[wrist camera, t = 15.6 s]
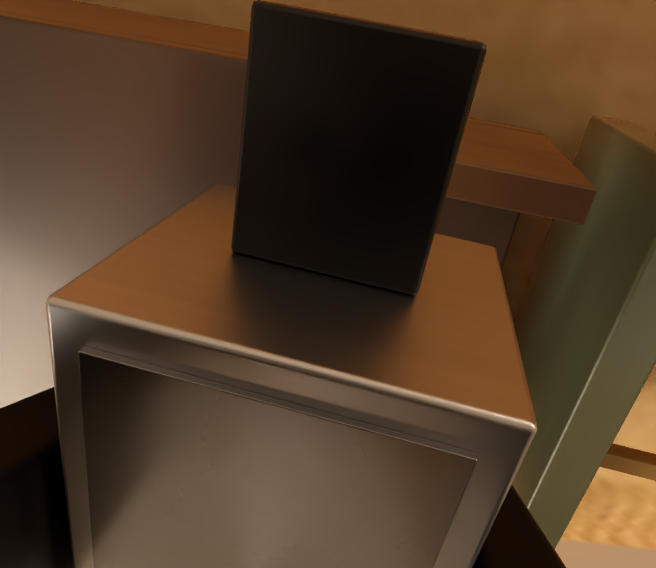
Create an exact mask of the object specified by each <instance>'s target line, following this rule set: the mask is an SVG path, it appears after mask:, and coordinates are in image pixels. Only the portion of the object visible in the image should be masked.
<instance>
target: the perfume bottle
mask: <svg viewBox="0 0 656 568" xmlns="http://www.w3.org/2000/svg"><path fill="white" fill-rule="evenodd" d="M485 55H486V45H485V44H483V43H482V42H479V41H476V40H471V39H466V38H461V37H455V36H450V35H445V34H439V33H434V32H429V31H423V30H418V29H413V28H408V27H402V26H397V25H392V24H386V23H381V22H376V21H370V20H365V19H360V18H355V17H349V16H344V15H339V14H333V13H328V12H323V11H317V10H312V9H307V8H302V7H296V6H290V5H284V4H278V3H272V2H266V1H260V0H258V1H254V3H253V5H252V10H251V22H250V33H249V45H248V57H247V68H246V80H245V92H244V103H243V115H242V127H241V139H240V150H239V162H238V174H237V185H236V188H235V187H231V186H227V185H222V184H216V185H214V186H213V187H211V188H210V189H208V190H207V191H205V192H204V193H202V194H201V195H199V196H198V197H196V198H195V199H193V200H192V201H190V202H189V203H187V204H186V205H184V206H183V207H181V208H180V209H178V210H177V211H175V212H174V213H172V214H171V215H169V216H168V217H166V218H165V219H163V220H162V221H160V222H159V223H157V224H156V225H154V226H153V227H152V228H150V229H149V230H147V231H146V232H144V233H143V234H141V235H140V236H138V237H137V238H135V239H134V240H132V241H131V242H129V243H128V244H126V245H125V246H123V247H122V248H120V249H119V250H117V251H116V252H114V253H113V254H111V255H110V256H108V257H107V258H105V259H104V260H102V261H101V262H99V263H98V264H96V265H95V266H93V267H92V268H90V269H89V270H87V271H86V272H84V273H83V274H81V275H80V276H78V277H77V278H75V279H74V280H72V281H71V282H69V283H68V284H66V285H65V286H63V287H62V288H60V289H59V290H57V291H56V292H54V293H53V294H51V295H50V296H49V297H48V299H47V301H46V314H47V323H48V333H49V343H50V352H51V362H52V371H53V381H54V391H55V400H56V410H57V420H58V429H59V439H60V449H61V458H62V468H63V477H64V487H65V497H66V506H67V516H68V526H69V535H70V545H71V554H72V564H73V568H472V567H473V565H474V563H475V560H476V558H477V556H478V554H479V552H480V550H481V548H482V546H483V544H484V541H485V539H486V537H487V535H488V533H489V531H490V529H491V527H492V525H493V522H494V520H495V518H496V516H497V514H498V512H499V510H500V508H501V506H502V503H503V501H504V499H505V497H506V495H507V493H508V491H509V489H510V487H511V484H512V482H513V480H514V478H515V476H516V474H517V472H518V470H519V467H520V465H521V463H522V461H523V459H524V457H525V455H526V453H527V451H528V448H529V446H530V444H531V442H532V440H533V438H534V436H535V434H536V432H537V422H536V418H535V414H534V409H533V405H532V401H531V397H530V392H529V388H528V384H527V379H526V375H525V371H524V366H523V362H522V358H521V354H520V349H519V345H518V341H517V336H516V332H515V328H514V323H513V319H512V315H511V311H510V306H509V302H508V298H507V293H506V289H505V285H504V281H503V276H502V272H501V268H500V263H499V259H498V255H497V250H496V248H494V247H493V246H488V245H484V244H479V243H475V242H471V241H466V240H462V239H458V238H453V237H449V236H445V235H440V234H436V233H435V232H436V228H437V225H438V221H439V218H440V214H441V210H442V207H443V203H444V200H445V196H446V193H447V189H448V186H449V182H450V179H451V175H452V172H453V168H454V165H455V161H456V157H457V154H458V150H459V147H460V143H461V140H462V136H463V133H464V129H465V126H466V122H467V119H468V115H469V111H470V108H471V104H472V101H473V97H474V94H475V90H476V87H477V83H478V80H479V76H480V73H481V69H482V66H483V62H484V58H485Z"/></svg>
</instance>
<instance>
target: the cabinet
mask: <svg viewBox="0 0 656 568" xmlns="http://www.w3.org/2000/svg"><path fill="white" fill-rule="evenodd" d="M249 33H250V32H248V31H242V30H236V29H230V28H225V27H219V26H213V25H208V24H202V23H196V22H190V21H185V20H179V19H173V18H168V17H162V16H156V15H150V14H145V13H139V12H133V11H128V10H122V9H116V8H110V7H105V6H99V5H93V4H88V3H82V2H76V1H70V0H0V408H2V407H5V406H7V405H10V404H12V403H15V402H17V401H20V400H22V399H25V398H27V397H30V396H32V395H35V394H37V393H39V392H42V391H44V390H47V389H49V388H52V387H54V381H53V371H52V362H51V352H50V343H49V333H48V323H47V314H46V301H47V299H48V297H49V296H50V295H51V294H53V293H54V292H56V291H57V290H59V289H60V288H62V287H63V286H65V285H66V284H68V283H69V282H71V281H72V280H74V279H75V278H77V277H78V276H80V275H81V274H83V273H84V272H86V271H87V270H89V269H90V268H92V267H93V266H95V265H96V264H98V263H99V262H101V261H102V260H104V259H105V258H107V257H108V256H110V255H111V254H113V253H114V252H116V251H117V250H119V249H120V248H122V247H123V246H125V245H126V244H128V243H129V242H131V241H132V240H134V239H135V238H137V237H138V236H140V235H141V234H143V233H144V232H146V231H147V230H149V229H150V228H152V227H153V226H154V225H156V224H157V223H159V222H160V221H162V220H163V219H165V218H166V217H168V216H169V215H171V214H172V213H174V212H175V211H177V210H178V209H180V208H181V207H183V206H184V205H186V204H187V203H189V202H190V201H192V200H193V199H195V198H196V197H198V196H199V195H201V194H202V193H204V192H205V191H207V190H208V189H210V188H211V187H213V186H214V185H216V184H222V185H227V186H231V187H235V188H236V185H237V174H238V162H239V150H240V139H241V127H242V115H243V103H244V92H245V80H246V68H247V57H248V45H249Z"/></svg>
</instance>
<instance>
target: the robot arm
mask: <svg viewBox="0 0 656 568" xmlns="http://www.w3.org/2000/svg"><path fill="white" fill-rule="evenodd" d="M0 568H73V564H72V554H71V545H70V535H69V526H68V516H67V506H66V497H65V487H64V477H63V468H62V458H61V449H60V439H59V429H58V420H57V410H56V400H55V391H54V387H52V388H49V389H47V390H44V391H42V392H39V393H37V394H35V395H32V396H30V397H27V398H25V399H22V400H20V401H17V402H15V403H12V404H10V405H7V406H5V407H2V408H0ZM472 568H566V567H565V565H564V564H563V562H562V561H561V559H560V557H559V556H558V554H557V553H556V551H555V550H554V548H553V547H552V545H551V544H550V542H549V540H548V539H547V537H546V536H545V534H544V533H543V531H542V530H541V528H540V527H539V525H538V524H537V522H536V520H535V519H534V517H533V516H532V514H531V513H530V511H529V510H528V508H527V507H526V505H525V504H524V502H523V500H522V499H521V497H520V496H519V494H518V493H517V491H516V490H515V488H514V487H513V485H512V484H511V487H510V489H509V491H508V493H507V495H506V497H505V499H504V501H503V503H502V506H501V508H500V510H499V512H498V514H497V516H496V518H495V520H494V522H493V525H492V527H491V529H490V531H489V533H488V535H487V537H486V539H485V541H484V544H483V546H482V548H481V550H480V552H479V554H478V556H477V558H476V560H475V563H474V565H473V567H472Z"/></svg>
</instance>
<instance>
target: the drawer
mask: <svg viewBox="0 0 656 568" xmlns="http://www.w3.org/2000/svg"><path fill="white" fill-rule="evenodd" d="M520 213H525V214H530V215H535V216H540V217H545V218H550V219H553V221H552V224H551V226H550V229H549V232H548V235H547V237H546V240H545V243H544V245H543V248H542V251H541V253H540V256H539V259H538V261H537V264H536V267H535V270H534V272H533V275H532V278H531V280H530V283H529V286H528V288H527V291H526V294H525V296H524V299H523V302H522V305H521V307H520V310H519V313H518V315H517V318H516V321H515V323H514V328H515V332H516V336H517V341H518V345H519V349H520V354H521V358H522V362H523V366H524V371H525V375H526V379H527V384H528V388H529V392H530V397H531V401H532V405H533V409H534V414H535V418H536V422H537V432H536V434H535V436H534V438H533V440H532V442H531V444H530V446H529V448H528V451H527V453H526V455H525V457H524V459H523V461H522V463H521V465H520V467H519V470H518V472H517V474H516V476H515V478H514V480H513V482H512V485H513V487H514V488H515V490H516V491H517V493H518V494H519V496H520V497H521V499H522V500H523V502H524V504H525V505H526V507H527V508H528V510H529V511H530V513H531V514H532V516H533V517H534V519H535V520H536V522H537V524H538V525H539V527H540V528H541V530H542V531H543V533H544V534H545V536H546V537H547V539H548V540H549V542H550V544H551V545H552V547H553V548H554V549H555V547H556V546H557V544H558V542H559V540H560V538H561V536H562V535H563V533H564V531H565V529H566V527H567V525H568V524H569V522H570V520H571V518H572V516H573V514H574V513H575V511H576V509H577V507H578V505H579V503H580V501H581V500H582V498H583V496H584V494H585V492H586V490H587V489H588V487H589V485H590V483H591V481H592V479H593V478H594V476H595V474H596V472H597V470H598V468H599V467H604V468H608V469H612V470H616V471H619V472H623V473H627V474H631V475H635V476H639V477H643V478H647V479H651V480H655V481H656V454H653V453H649V452H645V451H641V450H637V449H633V448H629V447H625V446H621V445H617V444H613V441H614V439H615V437H616V435H617V433H618V432H619V430H620V428H621V426H622V424H623V422H624V421H625V419H626V417H627V415H628V413H629V411H630V409H631V408H632V406H633V404H634V402H635V400H636V398H637V397H638V395H639V393H640V391H641V389H642V387H643V386H644V384H645V382H646V380H647V378H648V376H649V375H650V373H651V371H652V369H653V367H654V365H655V363H656V135H655V134H653V133H651V132H649V131H647V130H645V129H643V128H640V127H638V126H636V125H634V124H632V123H630V122H627V121H622V120H616V119H611V118H605V117H599V116H592V117H591V119H590V122H589V124H588V127H587V130H586V132H585V135H584V138H583V140H582V143H581V146H580V148H579V151H578V154H577V156H576V159H575V162H574V165H573V164H572V163H571V162H570V161H569V159H568V158H567V157H566V156H565V155H564V154H563V153H562V152H561V151H560V150H559V149H558V148H557V147H556V146H555V145H554V144H553V143H552V142H551V141H550V140H549V139H548V138H547V137H546V136H545V135H544V134H543V133H542V132H541V131H537V130H531V129H526V128H520V127H515V126H510V125H504V124H499V123H493V122H488V121H483V120H477V119H472V118H468V119H467V122H466V126H465V129H464V133H463V136H462V140H461V143H460V147H459V150H458V154H457V157H456V161H455V165H454V168H453V172H452V175H451V179H450V182H449V186H448V189H447V193H446V196H445V200H444V203H443V207H442V210H441V214H440V218H439V221H438V225H437V228H436V232H435V233H436V234H440V235H445V236H449V237H453V238H458V239H462V240H466V241H471V242H475V243H479V244H484V245H488V246H493V247H494V248H496V250H497V255H498V259H499V263H500V268H502V265H503V262H504V260H505V257H506V254H507V251H508V248H509V245H510V242H511V239H512V236H513V233H514V230H515V227H516V224H517V221H518V218H519V215H520Z"/></svg>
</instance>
